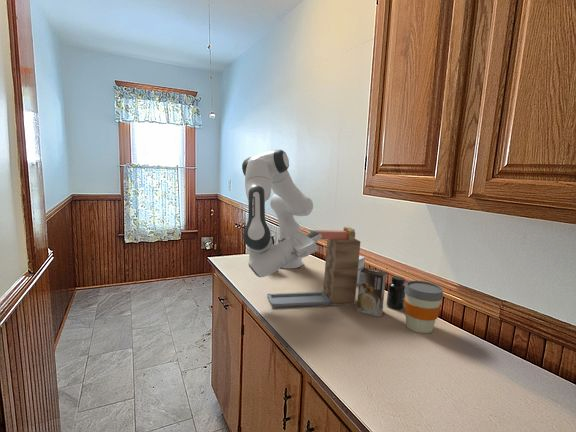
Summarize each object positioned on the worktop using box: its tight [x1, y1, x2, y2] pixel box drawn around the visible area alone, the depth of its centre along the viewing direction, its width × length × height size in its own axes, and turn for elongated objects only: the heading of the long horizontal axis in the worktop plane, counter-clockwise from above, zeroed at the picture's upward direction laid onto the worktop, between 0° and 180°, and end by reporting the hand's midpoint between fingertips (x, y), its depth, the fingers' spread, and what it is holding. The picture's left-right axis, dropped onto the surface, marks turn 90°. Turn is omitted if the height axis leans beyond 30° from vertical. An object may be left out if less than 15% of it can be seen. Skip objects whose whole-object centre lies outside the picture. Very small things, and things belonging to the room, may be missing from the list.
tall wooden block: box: [322, 226, 361, 306], centre depth 134 cm, size 10×10×30 cm
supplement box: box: [356, 255, 366, 286], centre depth 158 cm, size 7×7×13 cm
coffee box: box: [356, 267, 387, 318], centre depth 125 cm, size 9×6×16 cm
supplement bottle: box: [386, 275, 406, 310], centre depth 132 cm, size 7×7×12 cm
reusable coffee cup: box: [403, 280, 444, 334], centre depth 115 cm, size 13×12×15 cm
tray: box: [266, 291, 332, 309], centre depth 132 cm, size 10×24×2 cm, turn 104°
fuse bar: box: [309, 229, 356, 240], centre depth 131 cm, size 3×18×3 cm, turn 104°
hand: (319, 233), depth 129 cm, fingers closed on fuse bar, 3 cm apart
